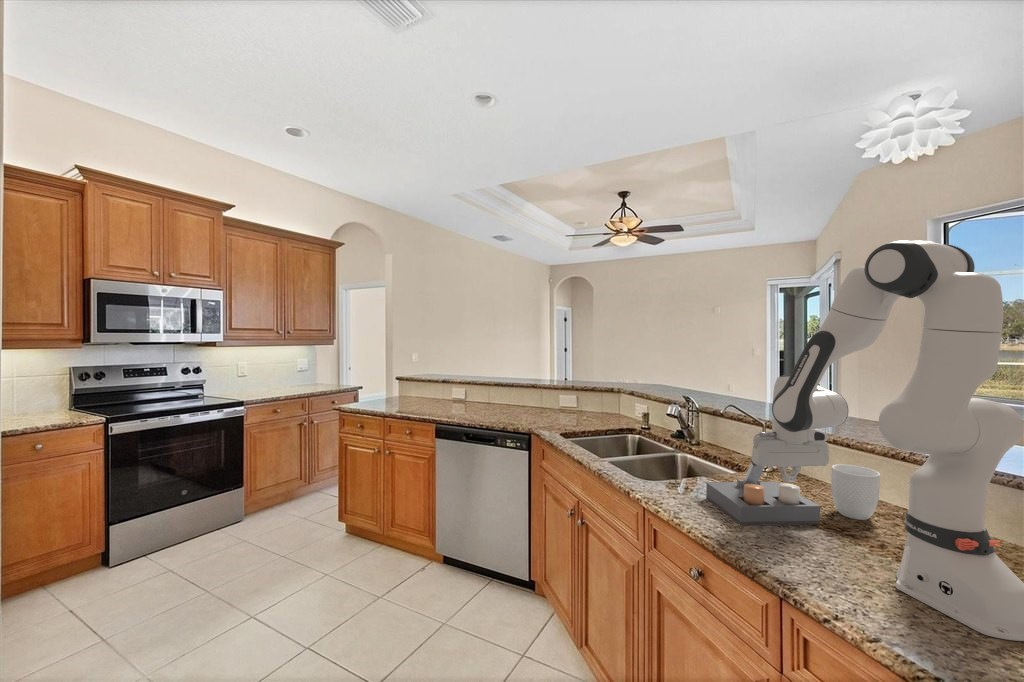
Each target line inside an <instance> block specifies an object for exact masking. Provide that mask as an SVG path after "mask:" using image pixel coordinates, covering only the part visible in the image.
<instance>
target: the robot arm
mask: <svg viewBox="0 0 1024 682" xmlns="http://www.w3.org/2000/svg"><path fill="white" fill-rule="evenodd" d="M975 269H976V268H975V262H974V259H973V257H972V256H971V255H970V254H969V252H968V251H966V250H964V249H962V248H960V247H959V246H955V245H953V244H942V243H937V242H934V241H930V240H905V239H904V240H895V241H892V242H888V243H885V244H881V246H879V247H877V248H875V249H874V250H873V251H871V253H870V254H869V255H868V257H867V259H866V261H865V263H864V265H862V266H857V267H856V268H853V269H852V270H850V271H849V273H847V275H846V276H845V278H844V280H843V282H842V283H841V284H840V287H839V289H838V291H837V292H836V295H835V297H834V299H833V302H832V303H831V306H830V308H829V309H830V310H829V312H828V314H827V316H826V318H824V319H825V320H824V322H823V323H822V324H821V326H820V327H819V329H818V330H817V331H816V332H815V333H814V334H813V335H812V336H811V338H809V340H808V341H807V343H806V344H805V346H804V348H803V350H802V352H801V354H800V356H799V358H798V359H797V361H796V363H795V365H794V367H793V369H792V372H791V373H790V374H783V375H780V376H778V377H776V380H775V382H774V386H773V393H772V395H773V396H772V404H771V406H772V407H771V413H772V423H771V431H768V432H767V431H766V432H765V431H763V432H761V431H760V432H758V433H757V434H755V436H754V437H753V442H752V445H753V446H752V449H751V458H750V460H751V459H752V461H753V463H754V464H756V465H758V466H760V467H764V468H766V467H767V468H768V467H769V468H771V467H772V468H773V467H774V468H775V467H777V468H778V470H779V472H780V474H781V480H782V481H783V483H796V482H797V476H798V475H799V474H800V472H801V470H802V467H826V466H827V465H828V464H829V463H830V447H829V444H828V442H827V441H828V440H829V434H828V433H826V432H825V431H821V429H827V428H835V427H837V426H842V425H843V424H844V423H845V422H846V421H847V419H848V416H849V405H848V403H847V401H846V399H845V398H844V397H843V395H842V394H840V393H839V392H837V391H832V390H830V389H827V388H825V387H823V386H821V385H819V384H820V382H821V380H822V379H823V377H824V375H825V373H826V371H827V370H828V369H829V367H830V366H831V365H832V364H834V363H835V362H836V361H838V360H840V359H841V358H845V356H848V355H850V354H853V353H855V352H856V353H857V352H859V351H862V350H864V349H866V348H869V347H870V346H872V345H873V344H874V343H875V342H876V341H877V340H878V338H879V337H880V336H881V334H882V333H883V331H884V329H885V328H884V327H886V323H887V320H888V319H889V316H890V314H891V313H890V312H891V310H892V308H893V306H894V304H895V302H897V300H898V299H899V298H901V297H905V298H907V299H914V298H918V299H919V300H920V301H921V302H922V304H923V306H924V317H923V322H922V323H923V324H922V333H921V339H920V347H919V353H918V358H917V364H916V367H915V369H914V372H913V374H912V376H911V377H910V380H909V381H908V383H907V385H906V386H905V387H904V389H903V390H902V392H901V393H900V394H899V395H898V396H897V397H896V398H895V399H894V400H893V401H891V402H890V403H888V404H886V405H885V406H884V407H883V408H882V410H881V411H880V413H879V416H878V428H879V432H880V434H881V435H882V437H883V439H884V440H885V442H887V443H888V444H889V445H890V446H892V447H893V448H896V449H899V450H902V451H906V452H911V453H917V454H922V455H929V456H928V457H927V459H926V461H925V462H924V463H923V464H922V465H921V466H920V467H919V468H917V469H916V470H914V471H913V473H912V474H911V475H910V478H909V489H908V490H909V491H908V492H909V493H908V495H909V497H908V510H907V511H906V512H905V518H904V524H905V525H904V529H905V530H906V539H905V542H904V543H905V544H904V548H903V552H902V557H901V562H900V564H899V567H898V569H897V572H896V573H895V576H896V582H895V588H896V589H897V590H899V591H901V592H903V593H904V594H907V595H908V596H911V597H912V598H914V599H915V600H918V601H919V602H922V603H924V604H926V605H927V606H929V607H931V608H933V609H935V610H937V611H939V612H940V613H942V614H944V615H946V616H948V617H950V618H951V619H954V621H955V620H956V621H958V622H959V623H961V624H963V625H965V626H966V627H969V628H970V629H973V630H975V631H976V632H978V633H980V634H982V635H985V636H988V637H993V638H997V639H1002V640H1008V641H1017V642H1024V582H1023V581H1022V580H1021V579H1020V578H1019V577H1018V576H1017V575H1016V574H1015V573H1014V572H1013V571H1012V570H1011V568H1009V567H1008V565H1007V564H1005V562H1004V561H1003V560H1001V558H999V556H997V554H996V553H995V551H996V550H995V547H1001V544H999V543H1001V542H1002V540H999V539H991V537H990V534H989V532H988V529H987V528H986V527H985V525H986V524H985V520H986V510H987V509H986V506H987V497H988V496H987V495H988V490H989V487H990V483H991V480H992V478H993V476H994V474H995V471H996V470H997V468H998V466H999V464H1000V462H1001V461H1002V459H1003V457H1004V456H1005V455H1006V453H1007V452H1008V451H1010V450H1011V448H1013V447H1014V446H1016V445H1017V444H1018V443H1019V442H1020V441H1021V440H1023V439H1022V438H1023V436H1024V422H1023V420H1022V418H1021V416H1020V415H1019V413H1018V412H1017V411H1016V410H1015V409H1013V408H1012V407H1010V406H1009V405H1007V404H1005V403H1002V402H998V401H994V400H990V399H986V398H980V397H979V398H978V397H973V396H974V394H975V392H976V391H977V390H978V388H979V387H980V386H981V385H982V384H983V383H984V382H986V381H988V380H989V379H991V378H992V377H993V376H994V375H995V373H996V371H997V369H998V366H999V365H998V363H999V356H1000V349H1001V341H1002V334H1003V327H1004V301H1003V292H1002V287H1001V284H1000V283H999V281H998V280H997V279H996V278H994V277H992V276H990V275H988V274H984V273H978V272H975ZM789 467H790V468H791V471H790V473H788V472H787V471H788V469H789Z"/></svg>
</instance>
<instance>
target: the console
mask: <svg viewBox="0 0 1024 682" xmlns="http://www.w3.org/2000/svg"><path fill="white" fill-rule="evenodd" d="M743 482H744V481H743V480H742V479H740V478H737V481H731V482H730V481H729V482H727V481H724V482H723V481H720V482H719V481H718V482H712V481H710V482H706V491H705V493H706V495H705V497H706V500H708V501H709V502H710V503H712V505H714V506H715V507H716V508H718V509H719V510H720V511H722V512H723V513H724V514H725V515H727V516H728V517H729V518H730V519H731V520H733V521H734V522H735V521H736V523H737V524H738V525H739V524H740V525H742V526H787V525H788V526H793V525H795V526H798V525H799V526H800V525H801V526H803V525H807V526H808V525H820V524H821V505H819V504H817V503H816V502H814V501H812V500H810V499H808V498H806V497H805V496H803V495H801V494H800V504H799V505H785V504H783V503H781V502H780V501H778V496H779V484H780V483H779V482H776V481H761V480H760V479H759V480H758V482H757V485H760V486H763V487H764V488H765V494H764V505H748V504H747V503H745V502H744V486H743Z"/></svg>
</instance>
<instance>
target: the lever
mask: <svg viewBox="0 0 1024 682" xmlns="http://www.w3.org/2000/svg"><path fill="white" fill-rule="evenodd" d="M764 469H765V467H760V466H758V465H756V464H754V463H753V461H752V459H751V458H750V464H749V466H748V469H747V471H746V474H745V475H744V478H743V480H742V481H744V482H743V486H744V485H745V484H757V482H758V480H759V481H760V477H761V475H762V473H763V471H764Z"/></svg>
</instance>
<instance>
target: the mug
mask: <svg viewBox="0 0 1024 682" xmlns="http://www.w3.org/2000/svg"><path fill="white" fill-rule="evenodd" d="M880 488H881V473H880V472H879V471H877V470H875V469H872V468H870V467H865V466H861V465H855V464H845V463H844V464H843V463H841V464H840V463H837V464H833V465H831V473H830V489H831V490H830V491H831V497H832V500H833V501H832V502H833V504H834V506H835V508H836V510H837V511H838V513H839V514H840V515H842V516H844V517H846V518H848V519H853V520H858V521H867V520H869V519H870V518H871V517H872V516H873V515H874V513H875V511H876V509H877V507H878V503H879V499H880V490H881V489H880Z"/></svg>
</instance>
